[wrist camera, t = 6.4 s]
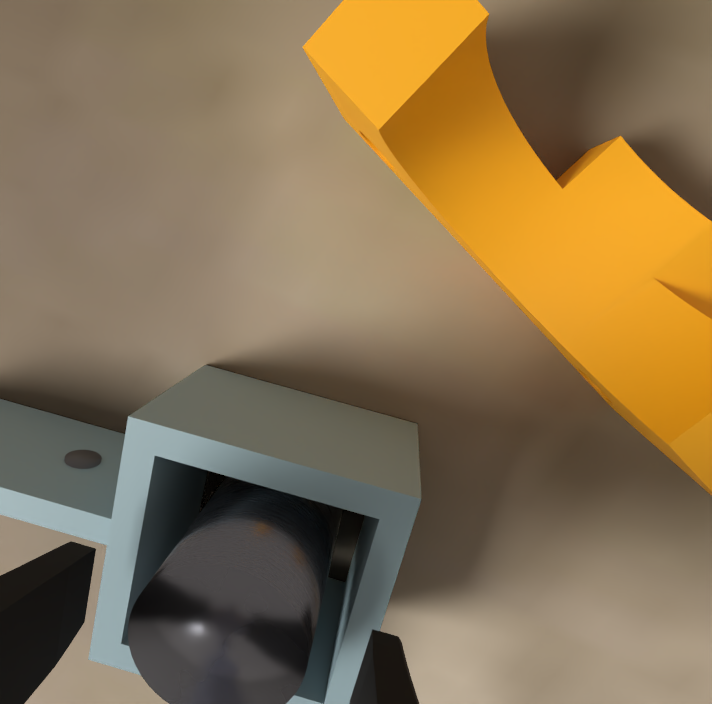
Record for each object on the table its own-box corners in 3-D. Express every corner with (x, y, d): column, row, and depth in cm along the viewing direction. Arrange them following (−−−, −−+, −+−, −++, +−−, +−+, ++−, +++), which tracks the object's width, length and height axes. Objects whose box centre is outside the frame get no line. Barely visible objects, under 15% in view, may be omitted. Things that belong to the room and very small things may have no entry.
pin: (324, 559, 19) (278, 746, 12) (217, 522, 19) (111, 686, 12) (360, 460, 18) (332, 602, 11) (247, 421, 18) (149, 538, 11)
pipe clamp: (730, 312, 16) (940, 367, 10) (610, 407, 17) (731, 512, 11) (456, -1, 15) (492, -172, 8) (344, 119, 16) (302, 47, 9)
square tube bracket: (313, 764, 21) (285, 926, 16) (-64, 651, 21) (-203, 775, 16) (417, 423, 17) (421, 499, 12) (-36, 297, 18) (-202, 323, 13)
